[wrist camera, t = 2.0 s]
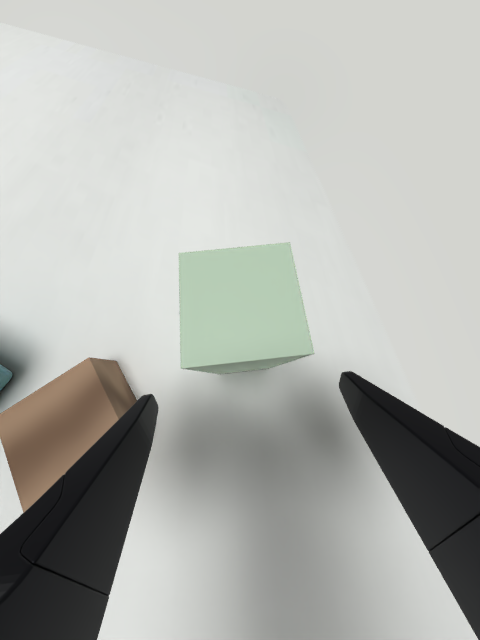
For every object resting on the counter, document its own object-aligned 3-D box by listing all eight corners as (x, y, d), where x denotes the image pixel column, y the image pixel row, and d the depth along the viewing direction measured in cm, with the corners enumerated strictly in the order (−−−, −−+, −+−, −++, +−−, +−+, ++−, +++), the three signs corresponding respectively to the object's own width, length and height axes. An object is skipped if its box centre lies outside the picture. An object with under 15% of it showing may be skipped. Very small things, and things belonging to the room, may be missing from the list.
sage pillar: (268, 368, 20) (314, 353, 7) (219, 374, 19) (180, 368, 7) (261, 322, 21) (289, 242, 9) (216, 327, 21) (178, 253, 8)
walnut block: (153, 430, 18) (130, 443, 14) (74, 488, 17) (26, 521, 13) (117, 361, 20) (88, 357, 16) (44, 409, 19) (-6, 417, 15)
